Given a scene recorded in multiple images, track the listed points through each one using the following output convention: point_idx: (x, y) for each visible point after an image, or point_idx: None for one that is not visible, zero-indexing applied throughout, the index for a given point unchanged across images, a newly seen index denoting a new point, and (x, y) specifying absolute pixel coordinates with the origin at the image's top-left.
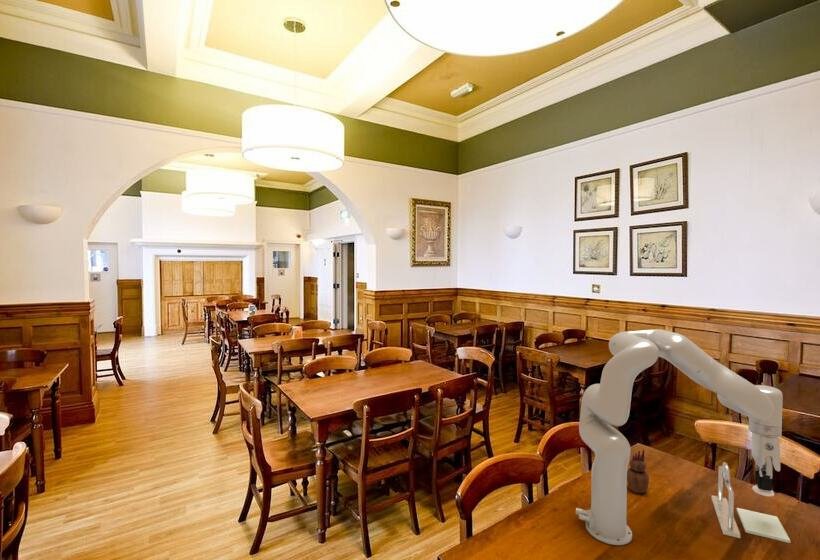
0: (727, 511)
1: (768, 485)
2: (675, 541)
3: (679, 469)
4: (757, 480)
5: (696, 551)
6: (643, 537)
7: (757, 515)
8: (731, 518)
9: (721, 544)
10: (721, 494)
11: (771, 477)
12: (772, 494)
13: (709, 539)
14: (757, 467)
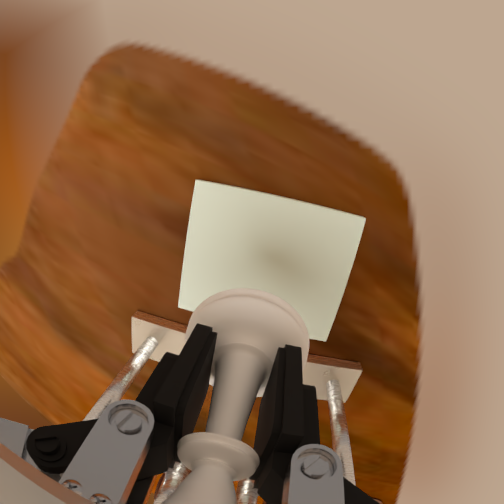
0: None
1: (315, 404)
2: (374, 464)
3: (30, 343)
4: (202, 404)
5: (405, 443)
6: (362, 490)
7: (211, 256)
8: (344, 412)
9: (386, 406)
10: (147, 356)
11: (340, 469)
12: (295, 320)
13: (367, 422)
14: (152, 487)
